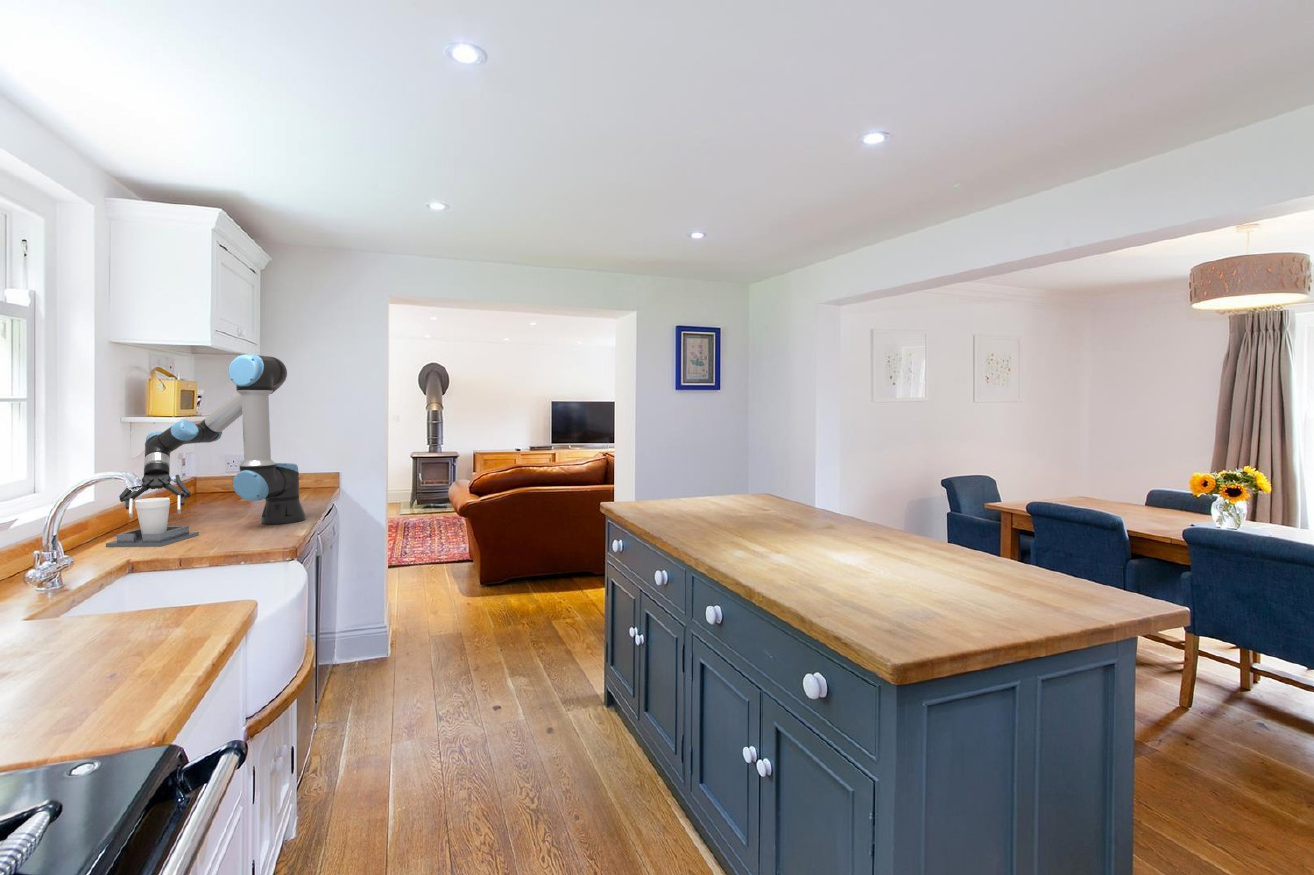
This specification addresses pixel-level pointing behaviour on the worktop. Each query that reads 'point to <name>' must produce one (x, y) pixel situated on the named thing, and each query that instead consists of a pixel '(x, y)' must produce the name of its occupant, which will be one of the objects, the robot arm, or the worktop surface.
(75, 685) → the worktop surface
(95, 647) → the worktop surface
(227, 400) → the robot arm
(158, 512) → the foam cup
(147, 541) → the pocket plate
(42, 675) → the worktop surface
